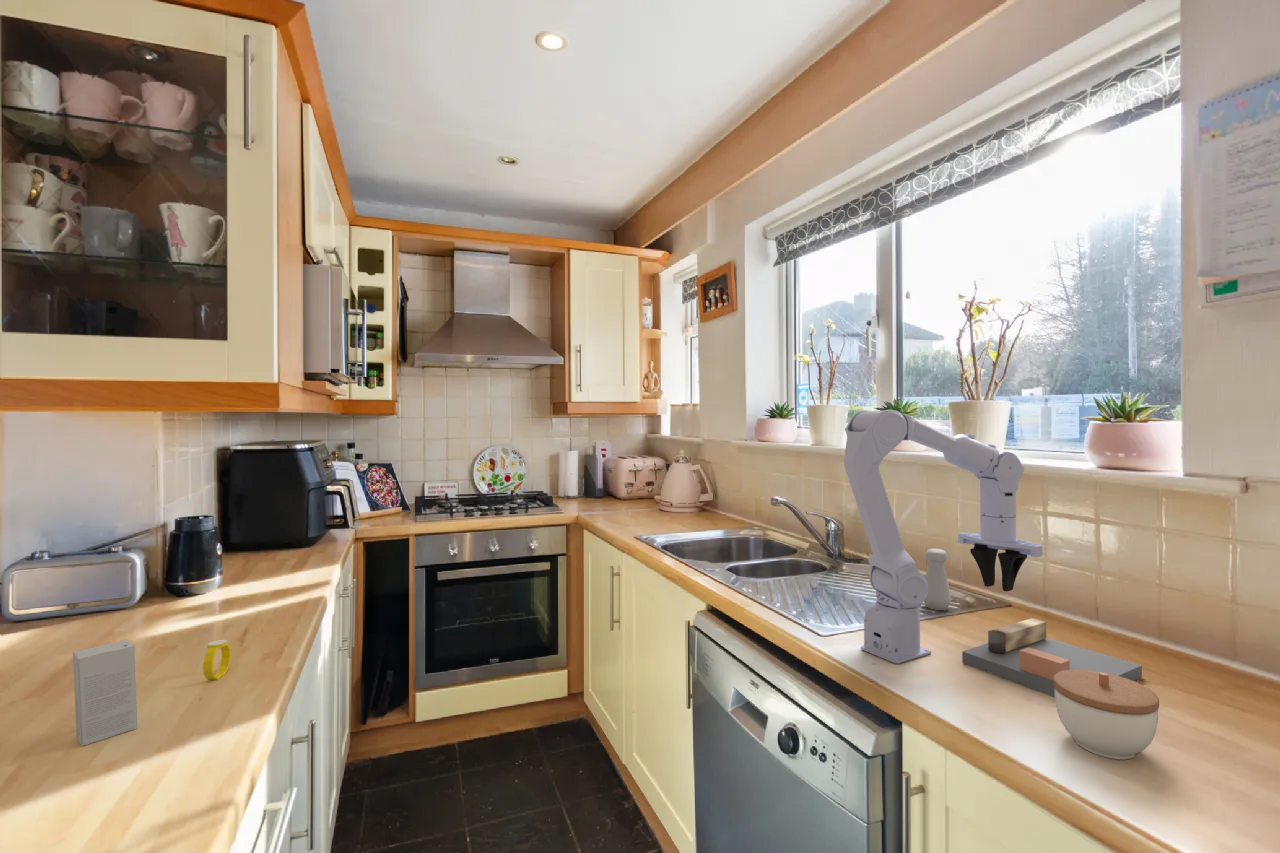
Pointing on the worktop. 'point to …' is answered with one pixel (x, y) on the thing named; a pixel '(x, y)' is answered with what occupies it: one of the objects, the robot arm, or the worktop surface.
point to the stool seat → (1046, 663)
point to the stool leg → (1016, 635)
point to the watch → (209, 659)
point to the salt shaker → (937, 580)
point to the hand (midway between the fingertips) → (998, 588)
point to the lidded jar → (1106, 712)
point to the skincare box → (105, 691)
